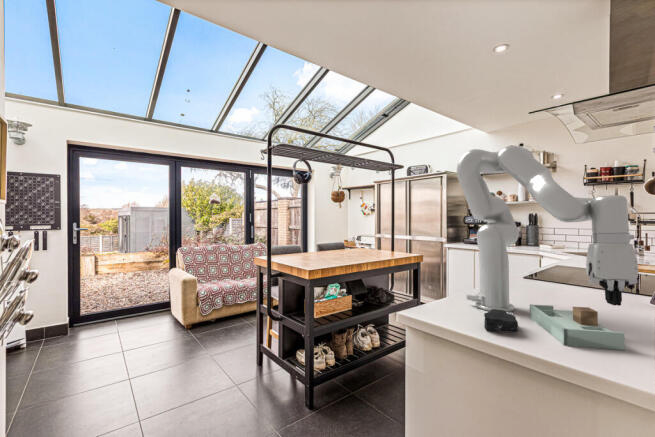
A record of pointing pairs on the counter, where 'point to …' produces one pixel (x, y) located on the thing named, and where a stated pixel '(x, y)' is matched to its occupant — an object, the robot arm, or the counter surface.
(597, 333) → the tray
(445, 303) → the counter surface
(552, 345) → the counter surface
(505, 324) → the rock
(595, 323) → the walnut block
